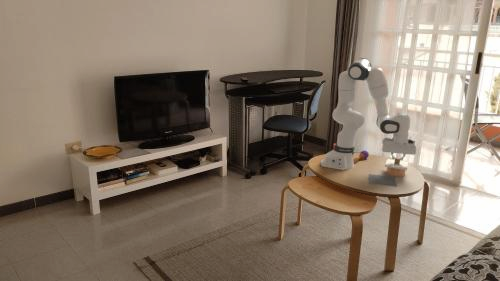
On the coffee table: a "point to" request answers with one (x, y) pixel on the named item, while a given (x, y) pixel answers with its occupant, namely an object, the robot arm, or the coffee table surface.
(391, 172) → the bowl
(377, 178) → the mat
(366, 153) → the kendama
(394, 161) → the lid
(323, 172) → the coffee table surface
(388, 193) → the coffee table surface
